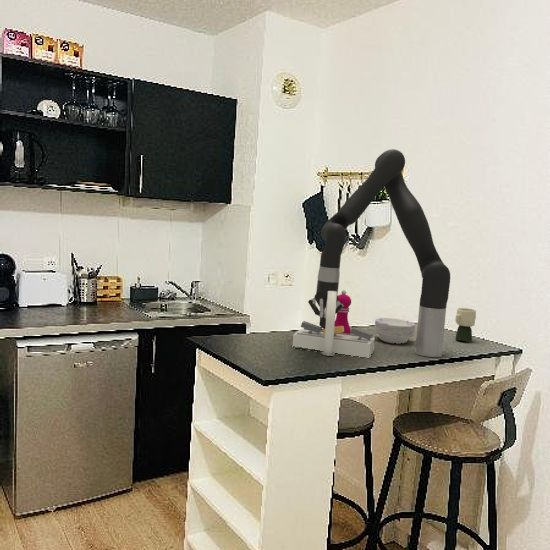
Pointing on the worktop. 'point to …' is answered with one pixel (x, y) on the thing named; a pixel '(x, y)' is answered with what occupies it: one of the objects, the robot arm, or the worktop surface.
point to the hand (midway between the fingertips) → (323, 327)
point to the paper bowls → (394, 330)
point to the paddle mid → (336, 329)
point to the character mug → (465, 323)
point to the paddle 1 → (311, 327)
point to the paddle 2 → (361, 333)
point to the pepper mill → (343, 312)
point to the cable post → (330, 323)
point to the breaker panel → (335, 343)
